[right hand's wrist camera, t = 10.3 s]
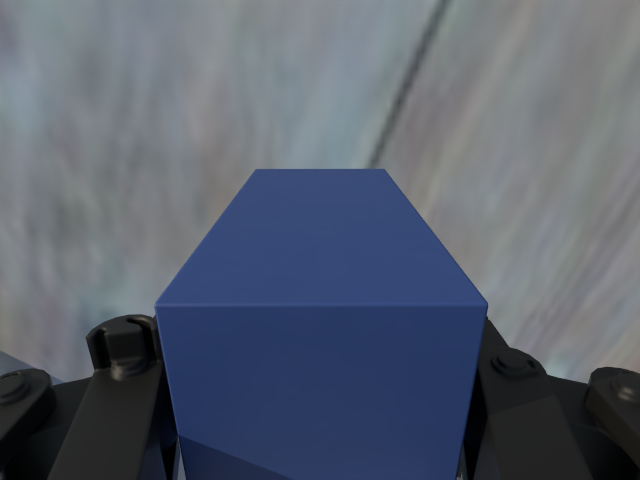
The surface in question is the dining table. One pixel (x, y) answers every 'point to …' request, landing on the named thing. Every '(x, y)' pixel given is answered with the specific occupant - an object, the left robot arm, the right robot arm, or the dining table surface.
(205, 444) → the bar
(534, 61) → the dining table surface
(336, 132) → the dining table surface
